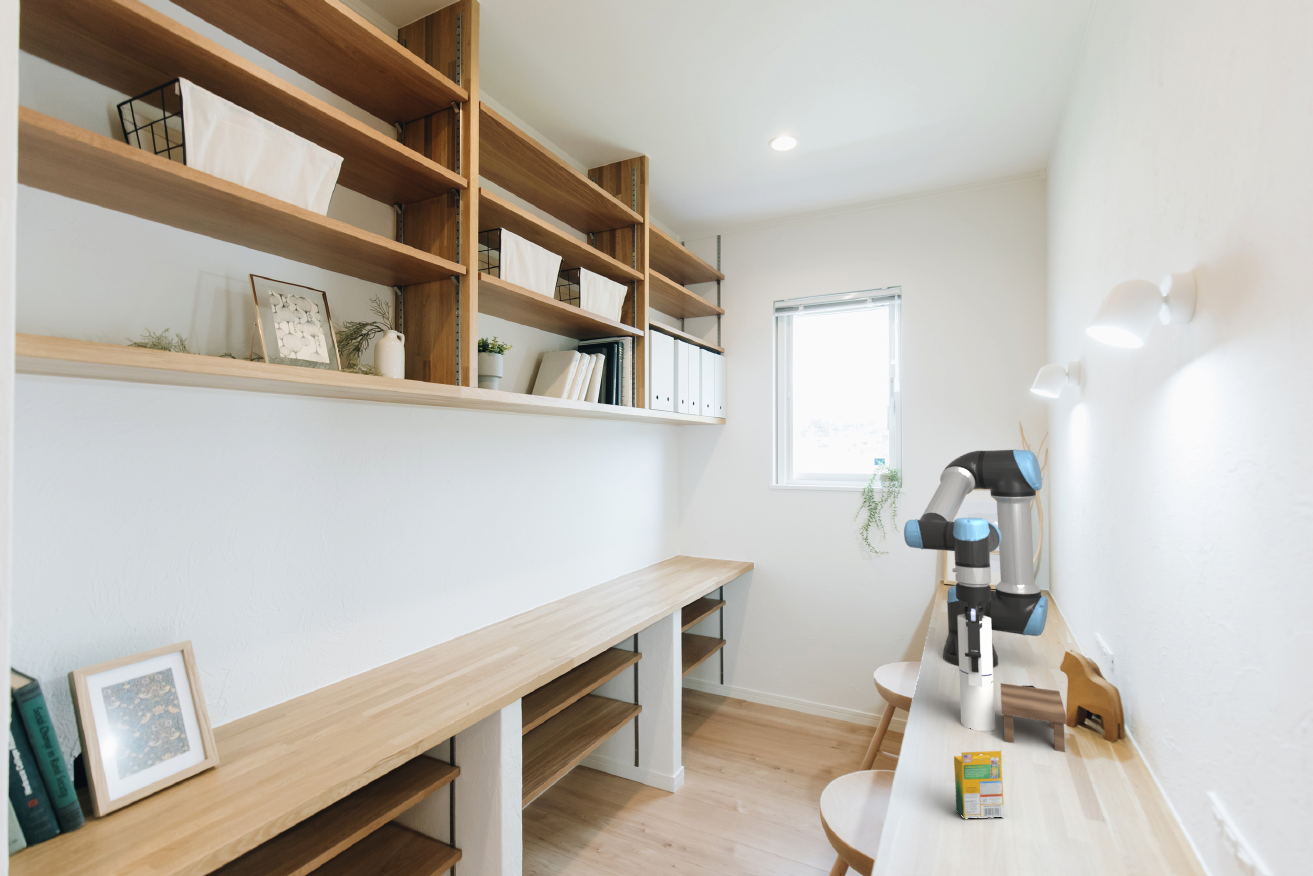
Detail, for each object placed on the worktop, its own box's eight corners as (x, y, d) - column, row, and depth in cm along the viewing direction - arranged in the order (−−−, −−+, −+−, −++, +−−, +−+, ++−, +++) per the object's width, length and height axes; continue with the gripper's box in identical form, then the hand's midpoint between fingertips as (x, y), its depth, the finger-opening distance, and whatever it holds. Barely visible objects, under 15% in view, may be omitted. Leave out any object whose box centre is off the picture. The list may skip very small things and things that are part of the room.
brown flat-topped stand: (1001, 716, 151) (1000, 683, 152) (1060, 725, 146) (1059, 691, 146) (1002, 741, 138) (1001, 705, 138) (1067, 753, 132) (1065, 714, 133)
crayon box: (995, 809, 112) (992, 743, 113) (1005, 818, 109) (1002, 751, 110) (955, 810, 112) (952, 744, 112) (963, 820, 109) (961, 752, 109)
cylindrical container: (954, 721, 149) (950, 616, 150) (975, 716, 152) (972, 612, 153) (980, 733, 142) (976, 622, 143) (1002, 727, 145) (998, 619, 146)
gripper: (957, 574, 160) (960, 661, 159) (952, 591, 140) (956, 691, 139) (990, 576, 157) (994, 665, 156) (990, 594, 136) (994, 697, 135)
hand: (976, 677), depth 147 cm, fingers open, 11 cm apart
